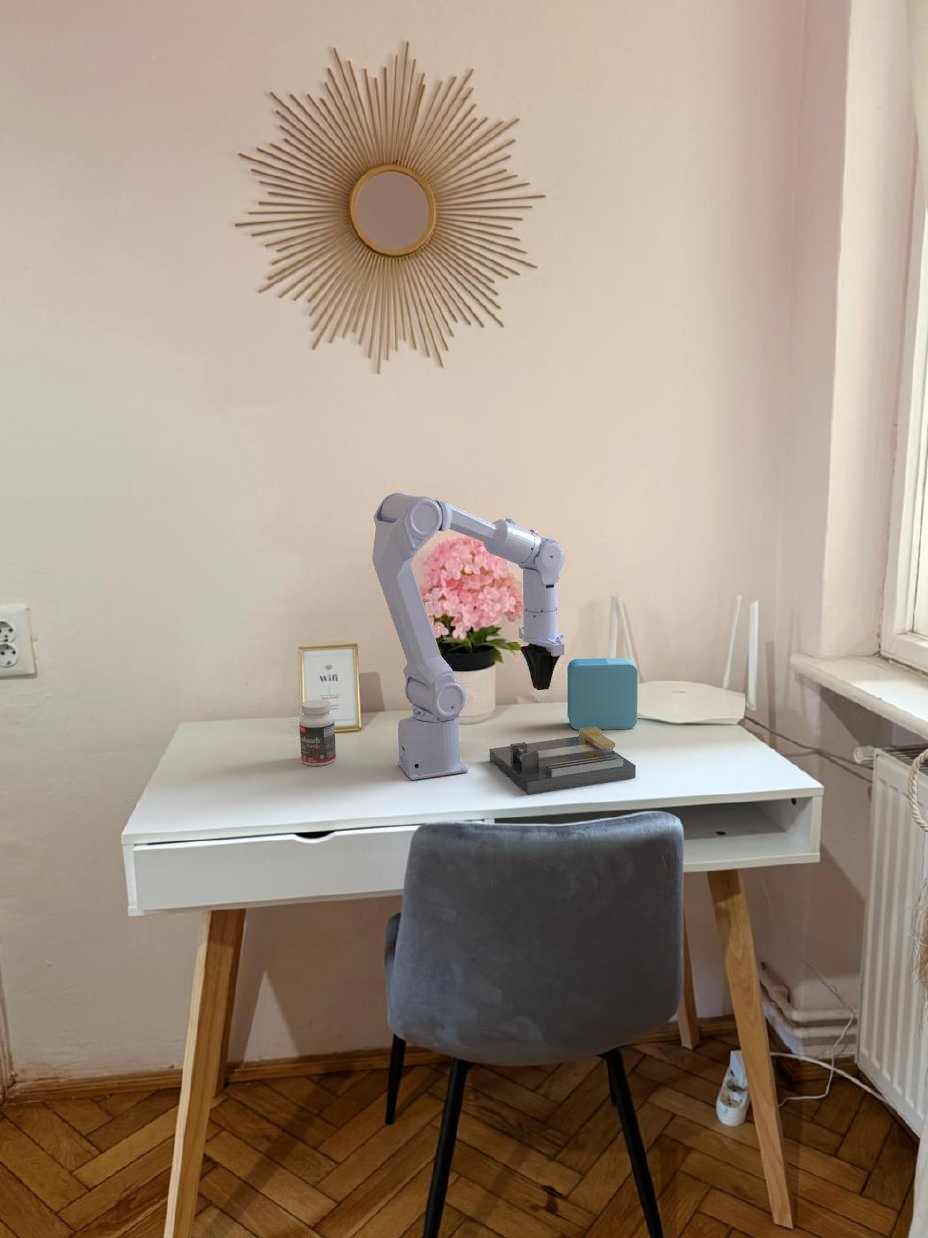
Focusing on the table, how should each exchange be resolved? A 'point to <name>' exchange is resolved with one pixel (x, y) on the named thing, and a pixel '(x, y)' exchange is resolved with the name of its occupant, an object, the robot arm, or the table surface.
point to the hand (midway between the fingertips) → (541, 688)
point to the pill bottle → (317, 733)
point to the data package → (602, 693)
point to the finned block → (559, 766)
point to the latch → (594, 738)
